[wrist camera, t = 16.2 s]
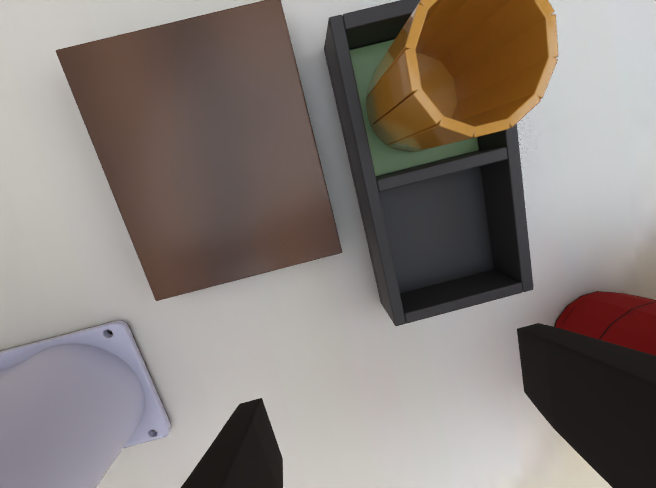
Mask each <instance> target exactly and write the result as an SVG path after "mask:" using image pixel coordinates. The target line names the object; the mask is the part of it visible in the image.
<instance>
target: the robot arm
mask: <svg viewBox="0 0 656 488" xmlns="http://www.w3.org/2000/svg"><path fill="white" fill-rule="evenodd" d="M107 330H111V331H112V333H113V335H111V334H109V333H108V332H107ZM517 334H518V343H519V351H520V360H521V368H522V376H523V385H524V392H525V393H526V395H527V396H528V397H529V398H530V400H531V401H532V402H533V404H534V405H535V406H536V407H537V409H538V410H539V411H540V412H541V414H542V415H543V416H544V417H545V418H546V420H547V421H548V422H549V423H550V424H551V426H552V427H553V428H554V429H555V430H556V431H557V432H558V433H559V434H560V435H561V436H562V437H563V438H564V439H565V440H566V441H567V442H568V443H569V444H570V445H571V446H572V447H573V448H574V449H575V451H576V452H577V453H578V454H579V455H580V456H581V457H582V458H583V459H584V460H585V461H586V462H587V463H588V464H589V465H590V466H591V467H592V468H593V469H594V470H595V471H596V472H597V473H598V474H599V475H600V476H601V477H603V478H604V479H605V480H606V481H607V482H608V483H609V484H610V485H611V486H612V487H613V488H656V356H655V355H652V354H648V353H644V352H641V351H637V350H634V349H630V348H627V347H623V346H620V345H616V344H613V343H609V342H606V341H602V340H599V339H596V338H592V337H589V336H585V335H582V334H578V333H575V332H571V331H568V330H564V329H560V328H556V327H553V326H549V325H544V324H539V323H537V324H533V325H530V326H526V327H522V328H519V329H517ZM152 430H155V431H156V432H154V431H152ZM170 430H171V424H170V421H169V419H168V417H167V414H166V412H165V410H164V408H163V405H162V403H161V401H160V398H159V396H158V394H157V391H156V389H155V387H154V384H153V382H152V380H151V377H150V375H149V373H148V370H147V368H146V366H145V363H144V361H143V359H142V357H141V354H140V352H139V350H138V347H137V345H136V343H135V340H134V338H133V336H132V333H131V331H130V329H129V326H128V325H127V324H126V323H125V322H123V321H114V322H111V323H107V324H103V325H99V326H95V327H91V328H88V329H84V330H80V331H76V332H72V333H69V334H65V335H61V336H57V337H53V338H49V339H46V340H42V341H38V342H34V343H30V344H26V345H23V346H19V347H15V348H11V349H7V350H3V351H0V488H96V487H97V485H98V484H99V483H100V481H101V480H102V478H103V477H104V475H105V474H106V472H107V471H108V469H109V468H110V466H111V465H112V463H113V462H114V460H115V459H116V457H117V456H118V454H119V453H120V451H121V450H122V448H126V447H129V446H133V445H137V444H141V443H144V442H148V441H152V440H155V439H159V438H163V437H165V436H167V435H168V434H169V432H170ZM181 488H283V458H282V455H281V453H280V450H279V447H278V444H277V441H276V438H275V435H274V432H273V429H272V426H271V424H270V421H269V418H268V415H267V412H266V409H265V406H264V403H263V400H262V398H260V399H256V400H252V401H249V402H245V403H241V404H239V406H238V407H237V408H236V410H235V411H234V412H233V414H232V415H231V417H230V418H229V420H228V421H227V423H226V424H225V426H224V427H223V428H222V430H221V431H220V433H219V434H218V436H217V437H216V439H215V440H214V442H213V443H212V445H211V446H210V447H209V449H208V450H207V452H206V453H205V455H204V456H203V457H202V459H201V460H200V462H199V463H198V465H197V466H196V467H195V469H194V470H193V472H192V473H191V474H190V476H189V477H188V479H187V480H186V481H185V483H184V484H183V485H182V487H181Z"/></svg>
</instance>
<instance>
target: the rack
mask: <svg viewBox="0 0 656 488" xmlns="http://www.w3.org/2000/svg"><path fill="white" fill-rule="evenodd" d="M420 1H421V0H400V1H396V2H392V3H387V4H383V5H379V6H375V7H371V8H367V9H363V10H358V11H354V12H350V13H346V14H343V16H342V15H338V16H334V17H330V18H329V21H328V27H327V34H326V40H325V46H324V51H325V55H326V59H327V64H328V68H329V73H330V77H331V82H332V86H333V91H334V95H335V100H336V104H337V109H338V113H339V118H340V122H341V126H342V131H343V135H344V140H345V144H346V149H347V153H348V158H349V162H350V167H351V171H352V176H353V180H354V185H355V189H356V193H357V198H358V202H359V207H360V211H361V216H362V220H363V225H364V229H365V234H366V238H367V243H368V247H369V252H370V256H371V260H372V265H373V269H374V274H375V278H376V283H377V287H378V292H379V296H380V301H381V304H382V305H383V307H384V308H385V310H386V312H387V313H388V315H389V316H390V318H391V320H392V321H393V323H394V324H395V326H399V325H403V324H406V323H410V322H414V321H417V320H421V319H425V318H429V317H432V316H436V315H440V314H444V313H447V312H451V311H455V310H459V309H462V308H466V307H470V306H474V305H477V304H481V303H485V302H489V301H492V300H496V299H500V298H503V297H507V296H511V295H515V294H518V293H522V292H526V291H530V290H533V280H532V270H531V260H530V251H529V241H528V231H527V221H526V211H525V202H524V192H523V182H522V172H521V163H520V153H519V143H518V133H517V123H516V124H515V125H514V126H513V127H511V128H509V129H507V130H503V131H499V132H495V133H491V134H487V135H483V136H479V137H475V138H471V139H467V140H463V141H459V142H454V143H450V144H446V145H442V146H438V147H434V148H430V149H426V150H421V151H417V152H405V151H400V150H396V149H394V148H392V147H390V146H388V145H386V144H385V143H384V142H383V141H381V140H380V138H379V137H378V136H377V135H376V134H375V132H374V131H373V129H372V127H371V125H370V123H369V120H368V116H367V111H366V95H367V90H368V86H369V83H370V81H371V79H372V76H373V73H374V71H375V69H376V68H377V66H378V65H379V63H380V62H381V60H382V59H383V57H384V55H385V54H386V52H387V51H388V49H389V48H390V46H391V45H392V43H393V42H394V40H395V39H396V37H397V36H398V34H399V33H400V31H401V29H402V28H403V26H404V25H405V23H406V22H407V20H408V19H409V17H410V16H411V14H412V13H413V11H414V10H415V8H416V7H417V5H418V3H419V2H420Z"/></svg>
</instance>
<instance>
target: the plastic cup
mask: <svg viewBox="0 0 656 488" xmlns="http://www.w3.org/2000/svg"><path fill="white" fill-rule="evenodd" d="M555 327H556V328H560V329H564V330H568V331H571V332H575V333H578V334H582V335H585V336H589V337H592V338H596V339H599V340H602V341H606V342H609V343H613V344H616V345H620V346H623V347H627V348H630V349H634V350H637V351H641V352H644V353H648V354H652V355H655V356H656V300H653V299H648V298H643V297H639V296H634V295H629V294H624V293H613V292H599V291H597V292H593V293H590V294H587V295H584V296H581V297H579V298H578V299H577V300H575V301H574V302H573V303H571V304H570V305H568V306H567V307H566V309H565V310H564V311H563V313H562V314H561V316H560V317H559V318H558V320H557V322H556V326H555Z"/></svg>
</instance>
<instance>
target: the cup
mask: <svg viewBox="0 0 656 488" xmlns="http://www.w3.org/2000/svg"><path fill="white" fill-rule="evenodd" d="M553 13H554V9H553V8H552V6H551V4H550V3H549V1H548V0H421V1H420V2H419V3H418V5H417V7H416V8H415V10H414V11H413V13H412V14H411V16H410V17H409V19H408V20H407V22H406V23H405V25H404V26H403V28H402V29H401V31H400V33H399V34H398V36H397V37H396V39H395V40H394V42H393V43H392V45H391V46H390V48H389V49H388V51H387V52H386V54H385V55H384V57H383V59H382V60H381V62H380V63H379V65H378V66H377V68H376V69H375V71H374V73H373V76H372V79H371V81H370V83H369V86H368V90H367V95H366V111H367V116H368V120H369V123H370V125H371V127H372V129H373V131H374V132H375V134H376V135H377V136H378V137H379V138H380V140H381V141H383V142H384V143H385V144H386V145H388V146H390V147H392V148H394V149H396V150H400V151H405V152H417V151H421V150H426V149H430V148H434V147H438V146H442V145H446V144H450V143H454V142H459V141H463V140H467V139H471V138H475V137H479V136H483V135H487V134H491V133H495V132H499V131H503V130H507V129H509V128H511V127H513V126H514V125H515V124H516V123H517V122H518V121H520V120H521V119H522V118H523V117H524V116H525V115H526V114H527V113H528V112H529V111H530V110H531V109H532V108H534V107H535V106H536V105H537V104H538V103H539V102H540V99H541V98H543V96H544V93H545V91H546V88H547V86H548V83H549V80H550V78H551V75H552V73H553V70H554V68H555V65H556V63H557V60H558V59H556V57H558V43H557V27H556V15H555V14H553ZM552 14H553V15H552Z"/></svg>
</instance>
